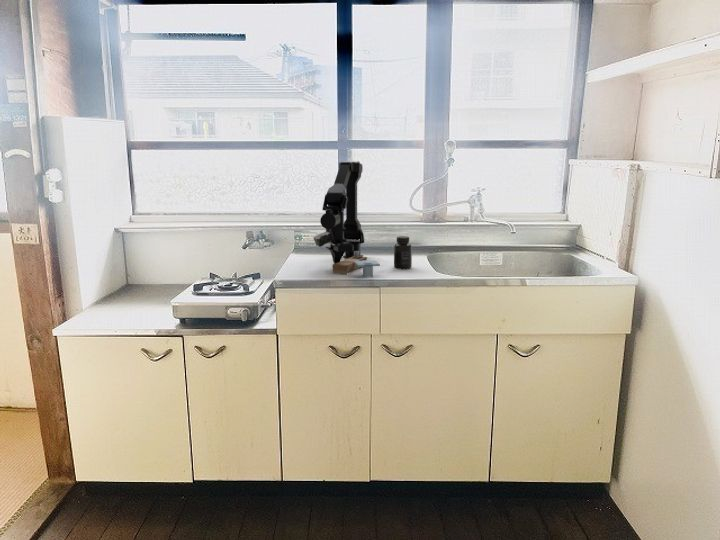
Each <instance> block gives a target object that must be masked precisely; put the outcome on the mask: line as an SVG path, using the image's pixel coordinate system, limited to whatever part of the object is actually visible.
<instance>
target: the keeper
mask: <svg viewBox="0 0 720 540" xmlns="http://www.w3.org/2000/svg"><path fill="white" fill-rule="evenodd" d="M354 264H355V265H356V266H358V267H361V268H362V276H363V275H364V276H365V277H364V276H363V277H364V278H368V277H367V276H373V277H374V267H380V266H381V265H380V264H381V263H379V262H378V261H377V260H375V259H373V260H372V259H370V260H368V259H367V260H365V261H354Z"/></svg>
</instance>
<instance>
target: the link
mask: <svg viewBox="0 0 720 540" xmlns="http://www.w3.org/2000/svg"><path fill="white" fill-rule="evenodd" d="M365 260H368V257H367V256H363V257H361V256H359V259H355V258H354V256H353V257H350V258H346V259H343V260H340V262H338V263H335V264H334V263H333V264H332V265H331V266H332V274H337V273H339V274H340V275H347V273H348V274H350V273H352V272H354V270H355V271H357V270H359V269H360V268H362V267H358V266H356V265H355V264H354V261H365Z"/></svg>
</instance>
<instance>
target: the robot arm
mask: <svg viewBox="0 0 720 540" xmlns="http://www.w3.org/2000/svg"><path fill="white" fill-rule="evenodd" d="M363 168H364V167H363V164H362V163H360V161H359V160H358V161H357V160H355V161H354V160H353V161H352V160H346V161H345V160H342V161H339V163H338V171H337V174H336V176H335V179H334V183H333V185H332V186H330V187H329V188H328V190H327V191H326V193H325V196H324V200H323V204H322V209H321V210H322V211H324V212H325V213H324V214H322V215H321V217H320V219H319V222H320V225H321V226H322V227H323V229H325V231H324V232H321V233H318V234H317V235H314V236H313V237H312V238H313V241H314V243H315V245H316V246H318V247H323V246H324V245H326V244H327V246H326V247H325V248H326V249H327V250H328V251H329V252H330V254H331V257H332V260H333V264H335V263H338V262H340V261H342V258H346V259H348V258H350V257H353V256H354V251H359V256H361V257H364V255H363V254H361V244H365V236H364V231H363V229H362V224H361V223H360V221H359V219H358V183H359V182H360V180H361V178H362V173H363V171H364V169H363ZM344 212H345V215H344Z"/></svg>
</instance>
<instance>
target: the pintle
mask: <svg viewBox="0 0 720 540" xmlns="http://www.w3.org/2000/svg"><path fill="white" fill-rule="evenodd" d="M354 258H355V259H359V251H354Z"/></svg>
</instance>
